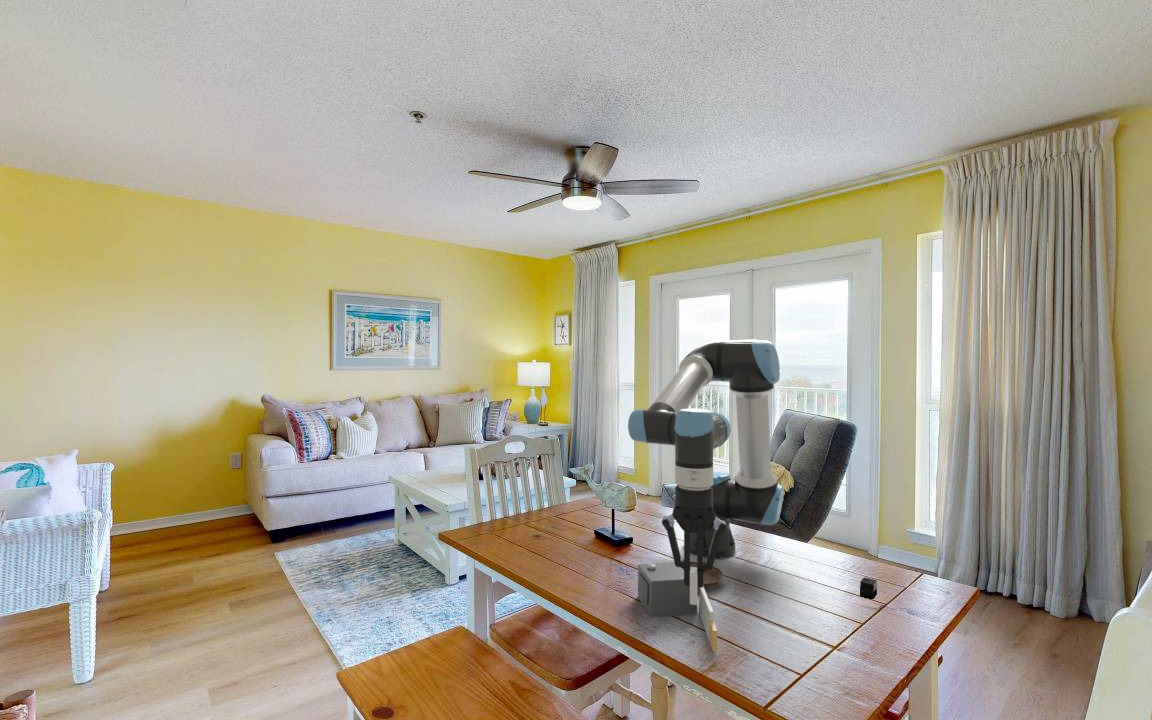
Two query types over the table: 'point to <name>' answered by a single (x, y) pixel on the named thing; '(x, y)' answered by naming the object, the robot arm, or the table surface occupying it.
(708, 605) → the light grey flat piece
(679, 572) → the grey box with knob
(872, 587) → the black block
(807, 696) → the table surface
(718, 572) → the saucer
